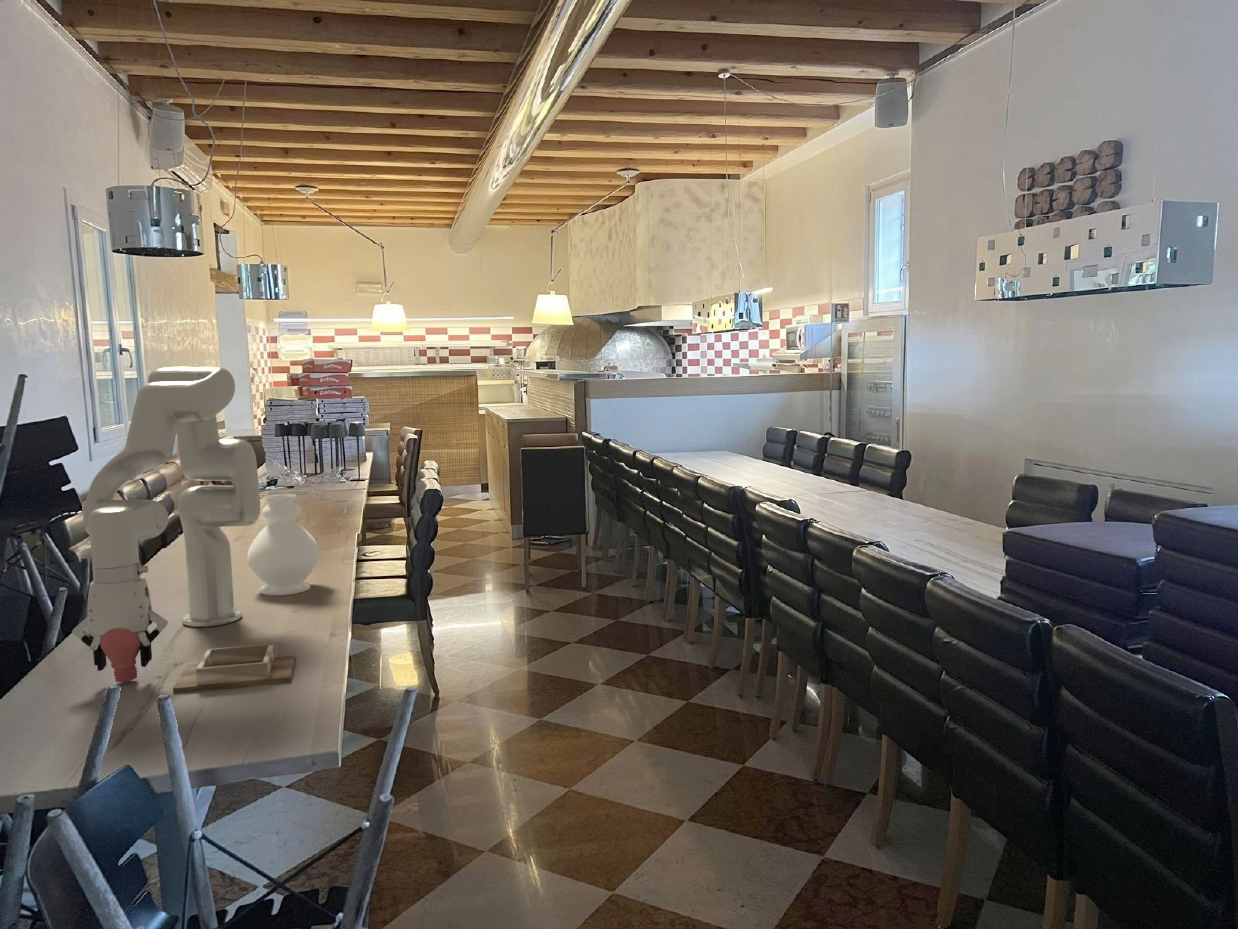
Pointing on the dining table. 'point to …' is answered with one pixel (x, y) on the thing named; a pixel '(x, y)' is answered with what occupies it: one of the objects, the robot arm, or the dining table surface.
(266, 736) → the dining table surface
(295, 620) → the dining table surface
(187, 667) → the bulb holder
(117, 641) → the light bulb
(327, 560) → the dining table surface
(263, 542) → the decorative vase
